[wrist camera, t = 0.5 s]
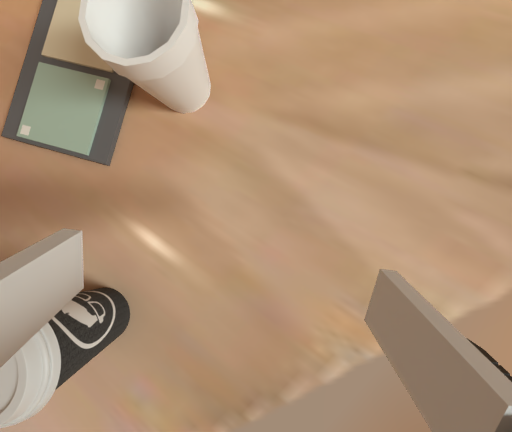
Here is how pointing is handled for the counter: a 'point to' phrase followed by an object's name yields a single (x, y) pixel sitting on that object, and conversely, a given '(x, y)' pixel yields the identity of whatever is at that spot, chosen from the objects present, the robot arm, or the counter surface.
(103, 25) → the foam cup
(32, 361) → the coffee cup
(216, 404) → the counter surface
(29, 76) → the tile board
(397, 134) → the counter surface
